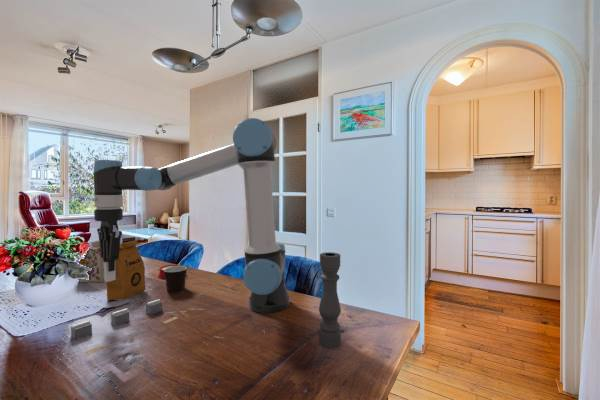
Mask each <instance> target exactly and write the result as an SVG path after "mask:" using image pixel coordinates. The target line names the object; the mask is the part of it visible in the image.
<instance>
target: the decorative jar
mask: <svg viewBox="0 0 600 400" xmlns="http://www.w3.org/2000/svg"><path fill="white" fill-rule="evenodd" d="M89 246H90V248H89V250H88V251H87V254H86V255H84V256H85V258H84V259H81V260H80V261H79V262H78V263H79V264H81V265H83V266H86V267H89V268H92V270H91V271H88V272H87V273H88V275H89V280H86V279H78V278H77V281H78V280H79V281H81V282H80V283H104V282H105V281H104V260H103V258H101V253H100V244H99V240H95V241H92V242H91V244H90V245H89Z"/></svg>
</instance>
